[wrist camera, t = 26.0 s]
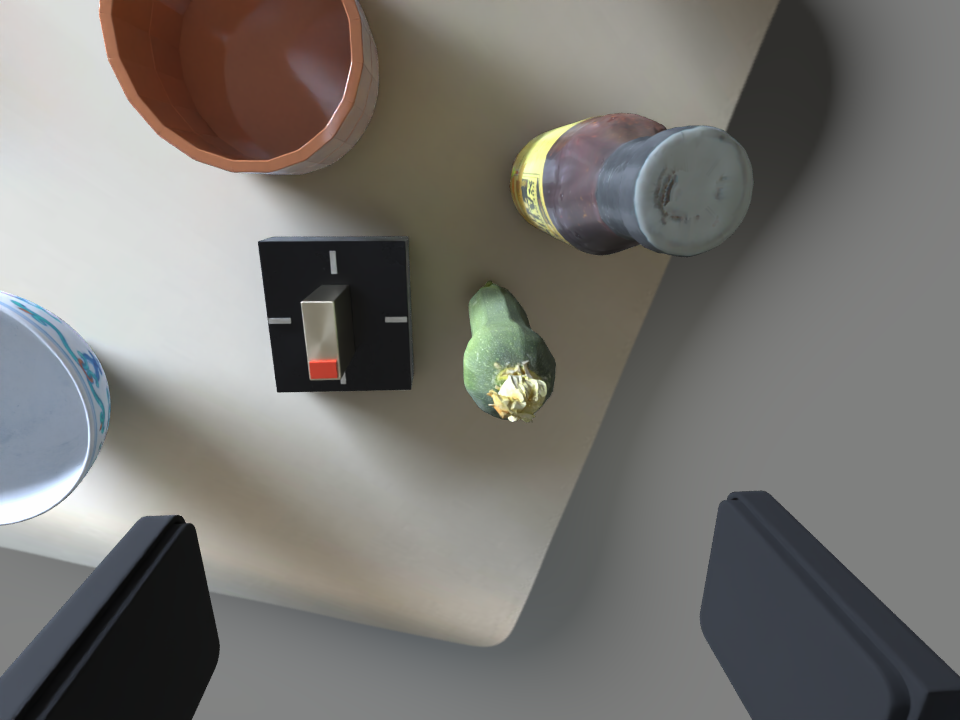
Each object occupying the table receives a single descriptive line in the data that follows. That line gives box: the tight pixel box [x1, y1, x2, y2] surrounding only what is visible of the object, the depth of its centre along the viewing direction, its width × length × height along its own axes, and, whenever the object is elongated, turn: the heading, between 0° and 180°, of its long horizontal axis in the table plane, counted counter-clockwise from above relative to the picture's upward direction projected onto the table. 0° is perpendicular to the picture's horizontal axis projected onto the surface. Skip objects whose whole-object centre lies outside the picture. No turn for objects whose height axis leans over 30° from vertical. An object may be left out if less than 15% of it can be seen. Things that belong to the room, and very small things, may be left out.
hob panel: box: [258, 236, 414, 392], centre depth 36 cm, size 10×9×3 cm
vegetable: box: [463, 281, 556, 423], centre depth 28 cm, size 4×4×20 cm
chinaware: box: [0, 291, 111, 526], centre depth 33 cm, size 15×15×8 cm
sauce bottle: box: [509, 113, 754, 257], centre depth 26 cm, size 6×6×20 cm
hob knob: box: [301, 285, 355, 380], centre depth 32 cm, size 5×2×5 cm, turn 0°
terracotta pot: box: [99, 0, 379, 175], centre depth 29 cm, size 12×12×7 cm
